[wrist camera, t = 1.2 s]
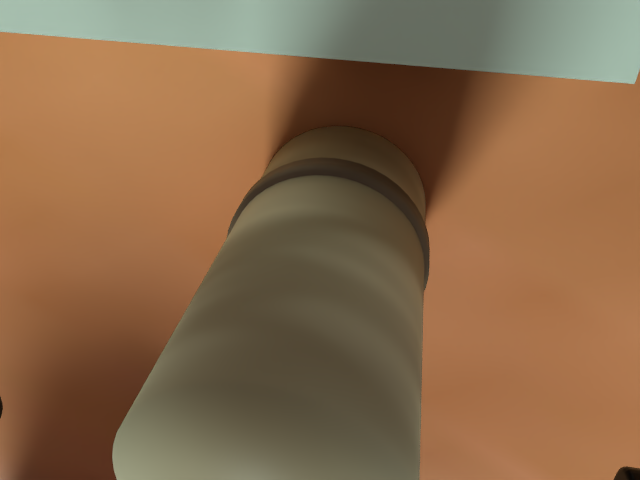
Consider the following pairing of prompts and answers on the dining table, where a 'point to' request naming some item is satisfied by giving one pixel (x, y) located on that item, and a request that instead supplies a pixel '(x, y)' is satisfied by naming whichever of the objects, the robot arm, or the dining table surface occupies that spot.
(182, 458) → the peg
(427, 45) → the board
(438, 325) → the dining table surface
